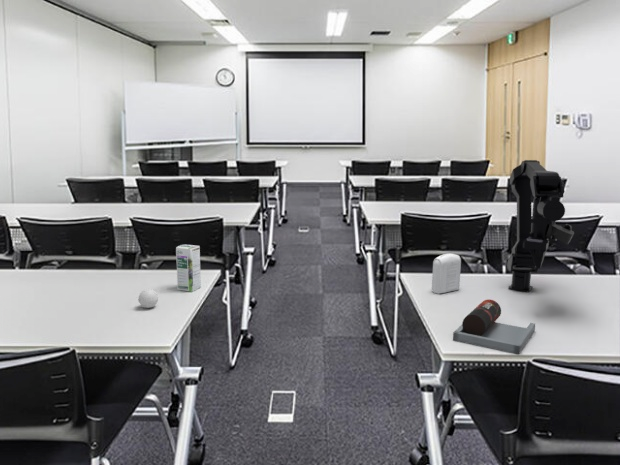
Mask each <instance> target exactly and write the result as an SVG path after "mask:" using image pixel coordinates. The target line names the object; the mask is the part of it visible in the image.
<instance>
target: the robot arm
mask: <svg viewBox="0 0 620 465" xmlns="http://www.w3.org/2000/svg"><path fill="white" fill-rule="evenodd" d="M509 185H511V192H512V193H513V196H515V198H516V242H515V244H514V245H513V247H512V248H511V253H510V255H509V256H508V260H507V262H506V263H507V265H506V268H507V270H508V271H509V272H511V276H512V277H511V284H510V285H509V286H508V288H507V289H509V290H514V291H520V292H527V293H529V292H530V291H531V290H532V289H533V285H531V278H532V273H537V272H538V270H539V269H541V268H542V265H543V262H544V259H545V256H546V253H547V251H548V250H549V249H550V248H551V247H553V246H554V244H553V243H550V240H553V242H557V241H559V242H561V243H563V244H564V245H569V243H571V240H572V238H573V237H574V235H575V232H574V230H572V228H573V227H572V225H570V224H568V223H566V224H565V225H563V226H562V225H558V224H556V222H557V221H558V222H559V221H560V220H561V219H563V218H564V216H565V214H566V207H565V206H564V204H563V202H562V201H559V198H564V194H565V187H564V183H563V180H562V177H561V176H560V174H559V173H558V172H557V171H552V170H547V169H546V168H545V167H544V166H542V165H541V163H540V161H539V160H536V159H525V160H522V161H521V163H520V164H519V165H517V166H516V167H513V169H512V171H511V173H510V175H509ZM532 196H533V202H532Z"/></svg>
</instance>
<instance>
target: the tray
mask: <svg viewBox="0 0 620 465" xmlns="http://www.w3.org/2000/svg"><path fill="white" fill-rule="evenodd" d="M535 330H536V323H534V322H530V323H529V325H528V326H527V327H521V326H517V325H511V324H505V323H502V322H496V321H495V322H494V323H493V324H492V325H491V326H490V327H489V328H488V330H487V331H486V332H485V333H484V334H483V335H482V336H477V335H472V334H467V333H465V331H464V329H463V326H462V324H461V325H460V326H458V328H457V329H455V330H454V331H453V334H452V335H453V336H452V341H455V342H456V341H457V342H461V343H466V344H470V345H475V346H478V347H479V346H480V347H484V348H489V349H493V350H499V351H502V352H503V351H504V352H508V353H513V354H517V355H519V354H520V353H521V352H522V351H523V350H524V348H525V346H526V345H527V343H528V341H529V340H530V339H531V337H532V336H533V334H534V332H535Z"/></svg>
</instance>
